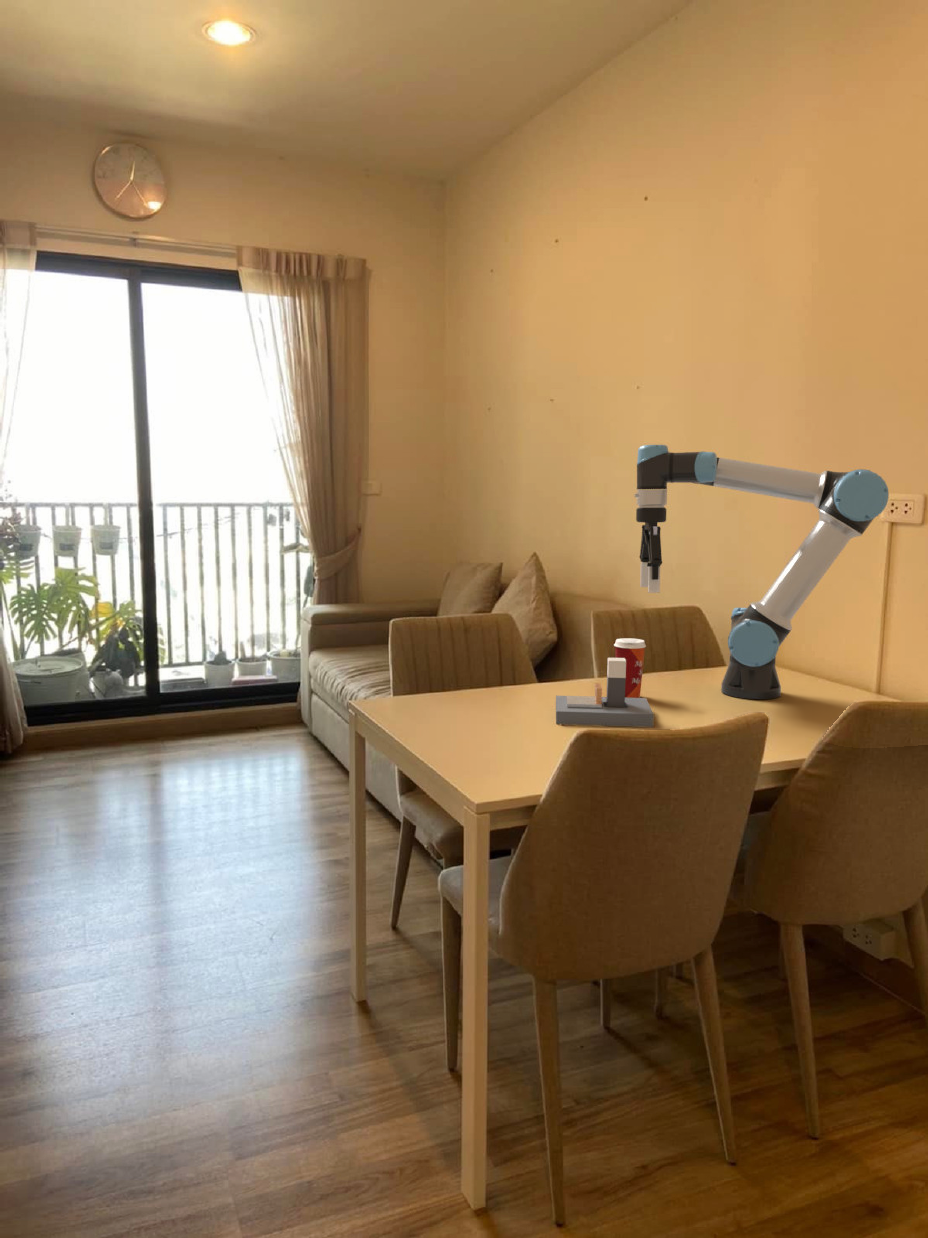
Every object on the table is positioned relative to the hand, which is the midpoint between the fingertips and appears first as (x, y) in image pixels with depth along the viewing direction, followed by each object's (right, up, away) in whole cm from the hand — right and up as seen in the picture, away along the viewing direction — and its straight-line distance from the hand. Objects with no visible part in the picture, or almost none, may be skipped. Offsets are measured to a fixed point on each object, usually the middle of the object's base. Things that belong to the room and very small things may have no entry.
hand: (649, 589), depth 230 cm
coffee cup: (-5, -28, +4) cm, 29 cm away
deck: (-15, -31, -17) cm, 38 cm away
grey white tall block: (-12, -31, -18) cm, 38 cm away
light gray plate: (-19, -28, -17) cm, 38 cm away
